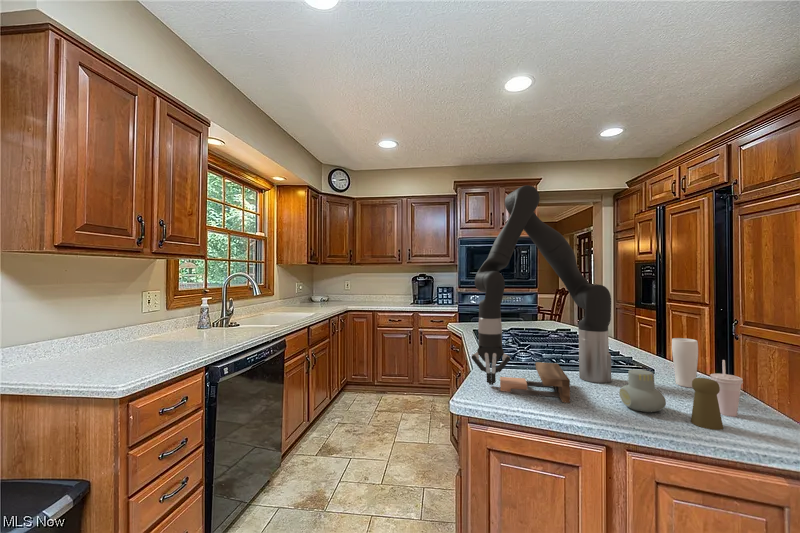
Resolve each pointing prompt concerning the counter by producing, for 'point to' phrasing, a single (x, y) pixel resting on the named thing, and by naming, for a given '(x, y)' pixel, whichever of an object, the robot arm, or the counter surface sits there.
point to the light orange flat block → (512, 383)
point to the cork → (706, 404)
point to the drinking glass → (685, 360)
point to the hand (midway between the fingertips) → (491, 384)
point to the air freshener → (642, 392)
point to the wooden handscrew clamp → (549, 382)
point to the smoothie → (728, 392)
